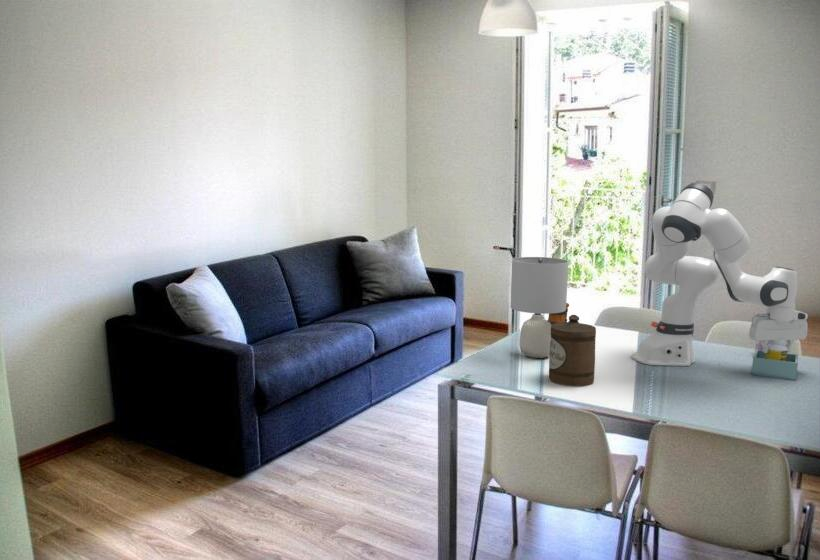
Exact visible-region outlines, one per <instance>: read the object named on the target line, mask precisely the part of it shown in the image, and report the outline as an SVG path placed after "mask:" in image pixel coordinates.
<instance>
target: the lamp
mask: <svg viewBox="0 0 820 560" xmlns="http://www.w3.org/2000/svg"><path fill="white" fill-rule="evenodd" d="M568 272H569V260H567V259H563V258H557V257H556V258H555V257H545V256H522V257H521V256H519V257H513V258H512V260H511V285H510V286H511V287H510V307H509V308H510V309H511V310H514V311H517V312H521V313H528V314H532V315H531V317H530V318H529V319H528V318H527V320H525V321H524V322H523V323H522V325H521V327H520V328H521V329H520V332H519V349H520V352H521V353H522V354H523V355H524V356H525V357H527V358H532V359H545V358H546V357H549V355H550V340H551V323H550V322H548V321H547V320H548V319H547V320H546V319H545V317H544V315H543V314H546V315H549V314H552V313H561V312H564V311H566V303H567V294H568V293H567V292H568V276H569V273H568Z"/></svg>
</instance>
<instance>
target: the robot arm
mask: <svg viewBox="0 0 820 560" xmlns="http://www.w3.org/2000/svg"><path fill="white" fill-rule="evenodd" d="M714 196H715V195H714V192H713V191H712V190H711V188H710V187H708V186H707V185H705V184H703V183H701V182H691V183H689V184H688V185H686V186H684V187H683V189H682V190H681V191H680V193H679V194H678V196H677V197H676V198H675V199H674V201H673V202H672V204H671V206H669V205H667V206H663V207H660V208H658V209H657V210H656V211H655V212H654V213H653V215H652V219H651V226H652V227H651V228H652V233H653V237H654V241H655V245H656V249H657V251H656V253H654V254H652V255H650V256H649V257H648V258H647V260H646V261H645V264H644V272H645V276H646V277H647V279H648V280H650V281H653V282H656V283H660V284H665V285H673V286H675V285H676V286H679V289H678V291H677V292H676V293H673V294H670V295H668V296H666V297H665V298H664V299H663V301H662V304H661V318H660V320H659V322H656V321H653V320H652V322H651V323H650V325H651V327H653V328H656V329H655V331H654V332H652V333H651V334H649V335H648V336H646V337H645V338H643V339H642V340H641V341H640V342H639V345H638V349H637V352H633V353H631V359H633V360H634V361H637V362H638V363H641V364H644V365H648V366H672V367H673V366H678V367H680V366H685V367H689V366H691V364H693V363H695V362H696V361H695V356H694V350H693V349H694V348H693V347H694V345H693V337H694V331H695V327H694V326H695V323H694V315H695V307H696V305H697V304H696V303H697V301H698V299H699V297H700V296H701V294H702V293H703V292H704V291H705V290H707V289H708V288H710V287H711V286H713V285H714V284H715V283H716V282H717V280H718V277H719V271H720V273H721V276H722V278H723V280H724V282H725V284H726V285H725V286H726V290H727V294H728V296H729V297H730V298H731V300H732V301H735V302H737V303H738V302H740V303H747V304H751V305H756V306H761V307H763V306H764V307H765V313H756V314H755V315H754V316H753V317H752V318H751V324H750V328H749V332H748V336H749V339H750V340H751V341H752V340H753V341H755V342H756V341H760V343H761V345H762V347H763V352H764V353H769V352H770V348H768V347H767V344H768V341H771V340H776V339H785V344H784V345H785V346H786V347H787V353H790V351H791V347H792V346H793V344H794V342H795V341H800V340H801V341H802V340H803V341H804V340H805V339H806V338H807V335H808V326H809V325H808V322H807V321H808V318H809V315H808V314H807V313H806V312H803V311H800V310H799V309H796V303H795V300H796V296H797V292H798V275H797V271H796V270H794V269H793V268H789V267H783V266H774V267H773V266H772V268H771V271H770V272H769V273H767V274H766V275H763V276H758V275H752V274H748V273H746V272H744V271H742V270H741V268H740V266H739V264H738V262H739V261H740V260H742V259H743V258H744V257H745V256H746V255H747V254H748V253H749V251H750V249H751V239H750V237H749V235H748V233H747V232H746V230H745V228H744V227H743V226H742V224H741V223H740V222H739V220H738V219H737V218H736V217H735V216H734V215H733V214H732V213H731V212H730V211H729V210H728V209H726V208H722V207H719V208H717V207H716V208H713V209H710V208H711V207H712V205H713V202H714ZM701 236H703V237H704V238H706V239H707V241H708V243H709V244H710V246H711V247H712V249H713V258H714V260H715V261H714V260H712V259H710V258H706V257H702V256H696V255H695V256H693V255H688V254H689V252H690V250H691V246H692V245H691V244H692V243H691V241H693V242H694V241H696V242H697V240H699V239H700V238H701Z"/></svg>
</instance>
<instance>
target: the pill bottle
mask: <svg viewBox="0 0 820 560" xmlns="http://www.w3.org/2000/svg"><path fill="white" fill-rule="evenodd" d="M770 342H771V344H768V345H767V347H768V348H770V352H769V353H766V358H765V359H772V360H779V361H786V357H787V353H788V352H787V347H786V346H785V345H786V340H785V339H776V340H771V341H770Z"/></svg>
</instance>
